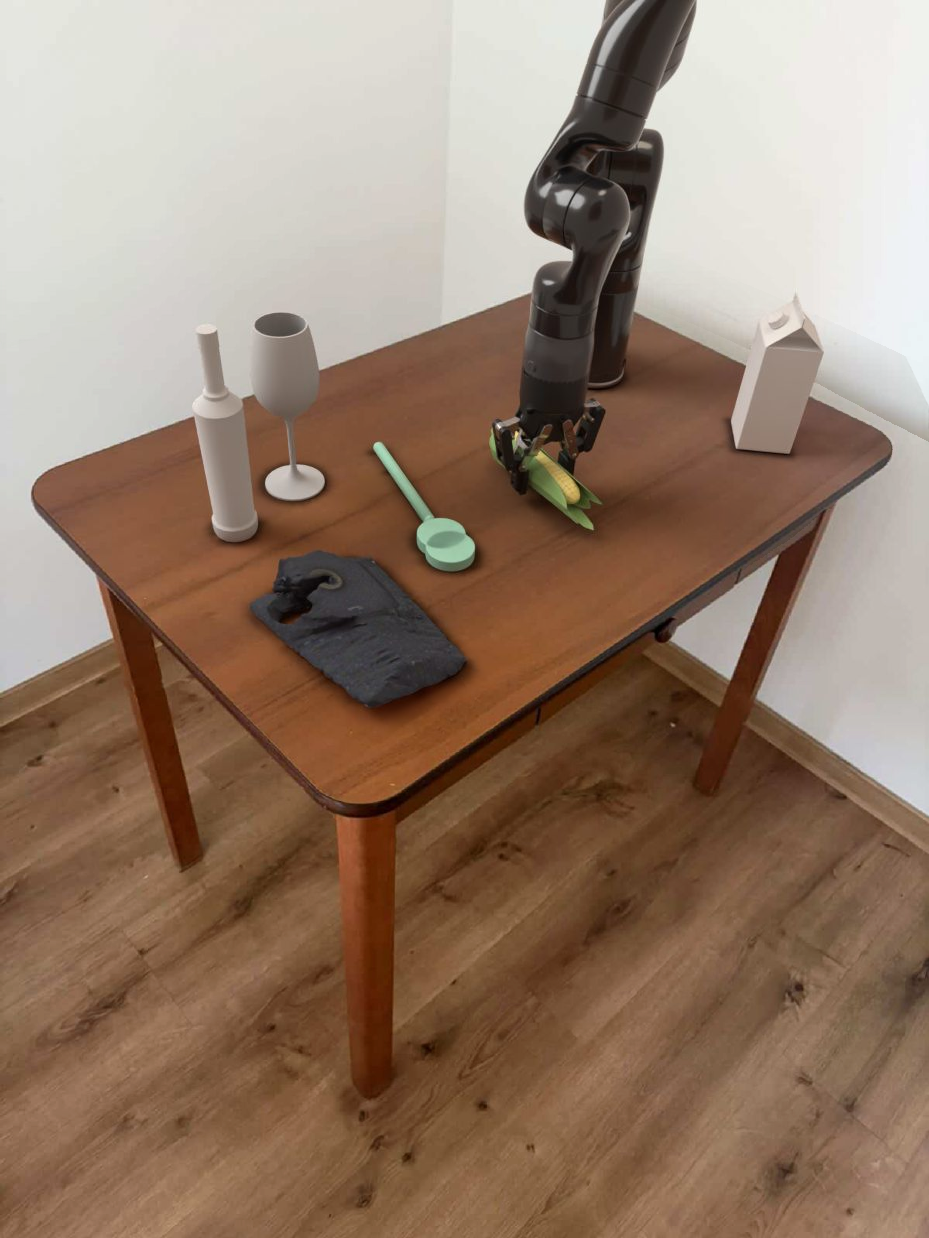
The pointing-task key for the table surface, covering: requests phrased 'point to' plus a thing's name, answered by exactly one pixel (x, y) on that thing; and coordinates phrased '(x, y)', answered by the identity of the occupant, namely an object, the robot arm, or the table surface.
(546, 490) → the edible corn
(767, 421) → the milk carton
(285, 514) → the table surface
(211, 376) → the bottle
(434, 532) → the spoon
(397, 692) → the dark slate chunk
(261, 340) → the wineglass
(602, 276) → the robot arm
